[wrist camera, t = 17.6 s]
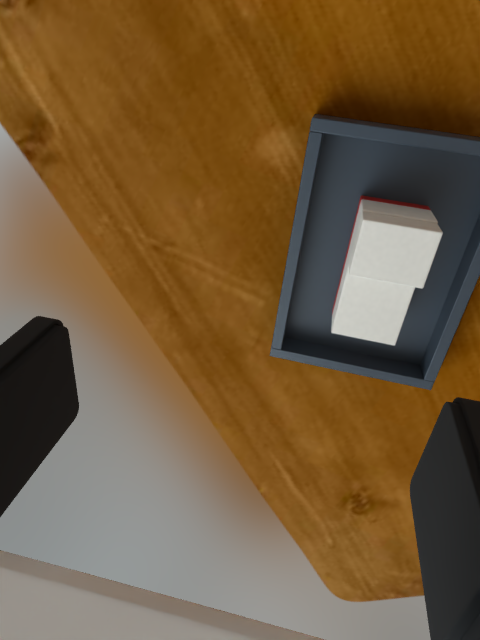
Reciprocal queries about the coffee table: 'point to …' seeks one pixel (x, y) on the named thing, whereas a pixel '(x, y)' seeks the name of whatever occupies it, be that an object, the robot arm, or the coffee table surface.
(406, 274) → the red-bottomed white block
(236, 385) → the coffee table surface
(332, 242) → the tray
